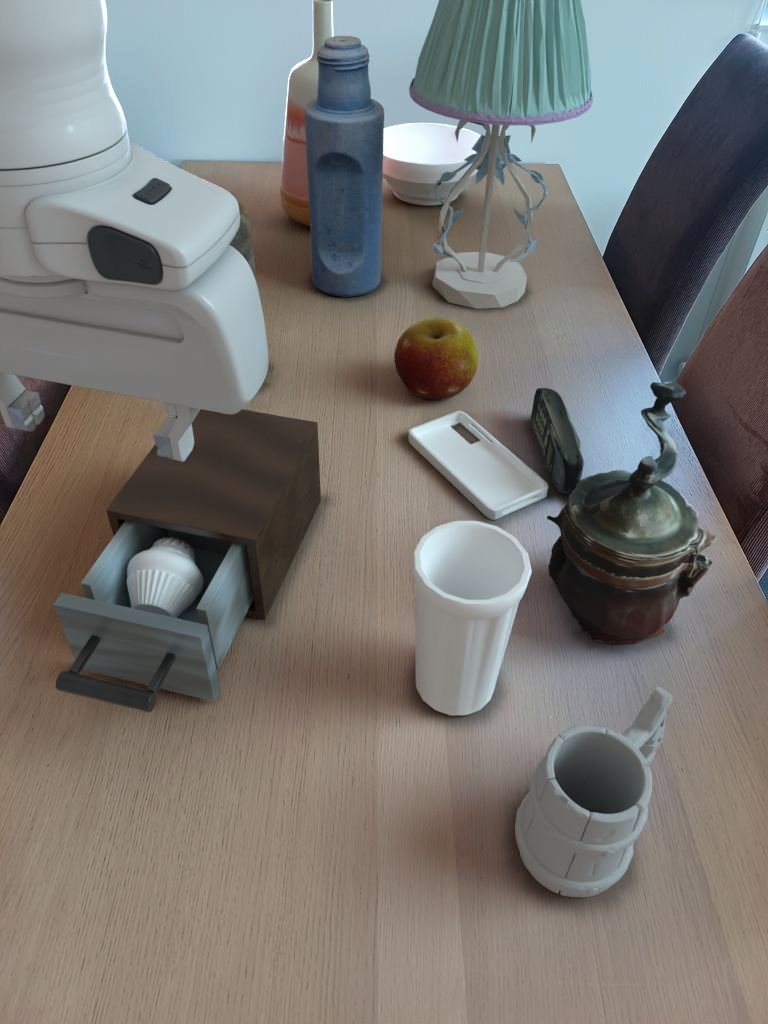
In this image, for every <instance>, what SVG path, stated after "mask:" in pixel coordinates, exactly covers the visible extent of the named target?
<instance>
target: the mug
mask: <svg viewBox="0 0 768 1024" xmlns="http://www.w3.org/2000/svg"><path fill="white" fill-rule="evenodd" d="M672 702H673V695H672V694H671V693H669V692H668V691H666V690H665V689H663V688H662V687H661V686H656V687H654V689H653V691H652V693H651V694H650V697H649V699H648V700H647V701H646V703H644V705H642V707H641V708H640V710H639V712H638V713H637V716H636V718H635V719H634V721H633V722H632V724H631V726H629V727H628V728H627V729H626V730H625V731H624V732H622V733H619V732H617V731H615V730H613V729H609V728H606V727H604V726H599V725H576V726H573V727H569V728H566V729H565V730H562V732H560V733H559V734H558V735H556V737H554V739H553V740H552V742H550V745H549V746H548V748H547V751H546V753H545V755H544V756H543V757H542V758H541V759H540V761H539V762H538V764H537V765H536V767H535V768H534V771H533V772H532V773H531V775H530V777H529V780H528V781H529V784H528V785H529V791H528V792H527V794H526V795H525V796H524V798H523V799H522V801H521V803H520V805H519V807H518V808H517V809H516V813H515V817H516V818H515V823H514V824H515V825H514V831H515V832H514V833H515V839H516V844H517V849H518V850H519V855H520V858H521V861H522V863H523V865H524V867H525V868H526V869H527V871H528V872H529V873H530V874H531V876H532V877H533V878H534V879H535V881H537V882H538V883H539V884H540V885H542V886H543V887H544V888H546V889H547V890H549V891H551V892H552V893H555V894H557V895H558V894H559V895H560V896H563V897H571V898H589V897H593V896H597V895H599V894H601V893H602V892H604V891H607V890H609V888H610V887H612V886H613V885H615V884H616V883H618V881H619V880H621V878H622V877H623V876H624V875H625V873H626V872H627V870H628V868H629V865H630V863H631V860H632V859H633V857H634V852H635V851H634V843H635V841H636V840H637V839H638V838H639V836H640V834H641V833H642V831H643V829H644V827H645V825H646V823H647V821H648V818H649V807H648V804H649V803H650V800H651V796H652V792H653V774H652V770H651V768H650V765H651V763H652V762H653V760H654V758H655V755H656V751H657V750H658V749H659V748H660V746H661V744H662V742H663V740H664V732H665V730H666V721H667V711H668V709H669V707H670V705H671V703H672Z"/></svg>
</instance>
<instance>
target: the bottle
mask: <svg viewBox="0 0 768 1024" xmlns="http://www.w3.org/2000/svg"><path fill="white" fill-rule="evenodd" d="M370 55H371V54H370V53H369V48H368V47H366V46H365V45H364V44H362V41H361V39H360V38H359V37H358V36H357V37H356V36H352V35H333V37H330V38H328V39H325V41H324V45H322V46H321V47H319V48H318V52H317V61H318V89H317V99H314V100H312V101H310V102H309V103H308V104H307V105H306V107H305V128H306V152H307V170H308V189H309V211H310V226H309V231H310V232H309V233H310V254H311V255H310V256H311V277H312V278H311V280H312V283H313V286H315V287H316V289H317V290H318V291H321V292H322V293H325V294H327V295H331V296H335V297H340V298H350V297H351V298H352V297H359V296H363V295H366V294H369V293H371V292H373V291H374V290H376V289H377V288H378V287H379V285H380V283H381V280H382V275H381V274H382V273H381V271H382V270H381V269H382V268H381V267H382V265H381V262H382V261H381V259H382V254H381V253H382V220H383V219H382V217H383V183H384V181H383V180H384V178H383V157H384V155H383V141H384V135H383V134H384V128H385V109H384V107H383V104H381V103H380V102H379V101H377V100H376V99H373V98H372V92H371V90H372V89H371V83H370V78H369V77H370V76H369V64H370Z"/></svg>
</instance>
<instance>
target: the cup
mask: <svg viewBox="0 0 768 1024" xmlns="http://www.w3.org/2000/svg"><path fill="white" fill-rule="evenodd" d="M411 558H412V561H411V562H412V573H413V574H412V575H413V581H414V585H415V688H416V690H417V692H418V694H419V696H420V698H421V700H422V701H423V702H424V703H426V704H427V705H428V706H429V707H431V708H432V709H433V710H434V711H437V712H439V713H442V714H446V715H448V716H467V715H471V714H474V713H476V712H479V711H481V710H482V709H483V708H484V707H485V706H486V705H487V704H488V703H489V702H490V701H491V700H492V697H493V695H494V691H495V688H496V685H497V681H498V679H499V675H500V671H501V668H502V664H503V660H504V657H505V654H506V650H507V646H508V643H509V640H510V636H511V633H512V629H513V626H514V622H515V618H516V616H517V615H516V614H517V612H518V607H519V604H520V601H521V600H522V599H523V596H524V594H525V592H526V589H527V587H528V584H529V582H530V579H531V575H532V573H533V571H532V566H531V561H530V555H529V553H528V552H527V550H526V549H525V547H524V546H523V545H522V544H521V542H520V541H519V540H518V539H517V538H516V536H514V535H512V534H511V533H509V532H508V531H506V530H504V529H503V528H501V527H500V526H497V525H493V524H490V523H486V522H482V521H479V520H454V521H450V522H447V523H444V524H441V525H437V526H435V527H434V528H433V529H431V530H429V531H428V532H427V533H425V534H424V535H423V536H422V537H420V539H419V540H418V542H417V544H416V546H415V548H414V550H413V552H412V554H411Z"/></svg>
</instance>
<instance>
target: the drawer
mask: <svg viewBox="0 0 768 1024" xmlns="http://www.w3.org/2000/svg"><path fill="white" fill-rule="evenodd" d="M165 537H168V538H170V537H173V538H175V539H177V538H178V539H180V540H181V541H185V543H187V544H189V545H190V547H191V548H192V549H193V551H194V556H195V559H194V560H195V564H196V566H197V567H198V569H199V570H200V572H201V574H202V576H203V580H204V583H203V588H202V590H201V592H200V593H199V595H198V596H197V597H195V600H194V601H193V603H192V604H191V605H190V606H188V607H187V608H186V609H185V610H184V611H183V612H182V613H181V614H180V615H179V616H178V617H177V618H173V617H169V616H164V615H160V614H155V613H151V612H146V611H142V610H137V609H133V608H132V607H131V602H130V597H129V592H128V587H127V578H128V577H127V567H128V564H129V562H130V560H131V559H132V558H133V557H134V556H135V555H136V554H138V553H140V552H142V551H145V550H148V549H150V548H151V547H152V546H153V544H154V543H155V542H156V541H157V540H159V539H162V538H165ZM80 586H81V590H82V591H83V594H84V597H83V596H78V595H74V594H70V593H65V592H60V594H59V596H58V597H57V598H56V600H55V601H54V603H52V605H53V608H54V611H55V614H56V615H57V618H58V621H59V623H60V625H61V628H62V631H63V633H64V636H65V637H66V641H67V643H68V645H69V649H70V651H71V653H72V656H73V658H74V661H73V662H72V664H71V666H70V667H69V668H68V670H62V671H60V672H59V674H58V675H57V677H56V679H55V685H54V686H55V689H56V690H57V691H59V692H63V693H67V694H70V695H71V694H72V695H76V696H80V697H84V698H88V699H92V700H95V701H99V702H104V703H107V704H112V705H116V706H121V707H124V708H128V709H133V710H137V711H140V712H145V713H148V714H149V713H152V712H153V711H154V710H155V708H156V705H157V702H158V692H159V689H160V690H164V691H169V692H172V693H176V694H181V695H186V696H190V697H193V698H194V697H195V698H198V699H202V700H206V701H211V702H215V701H216V699H217V697H218V695H219V693H220V691H221V686H220V681H219V675H218V671H219V670H220V668H221V666H222V665H223V662H224V661H225V658H226V656H227V654H228V652H229V650H230V648H231V645H232V643H233V642H234V639H235V638H236V635H237V633H238V632H239V629H240V627H241V625H242V624H243V621H244V619H245V618H246V613H247V611H248V609H249V607H250V605H251V603H252V601H253V599H254V595H253V587H252V580H251V573H250V565H249V558H248V551H247V545H244V544H239V543H234V542H229V541H224V540H219V539H214V538H209V537H204V536H199V535H195V534H190V533H185V532H180V531H175V530H170V529H165V528H160V527H155V526H150V525H145V524H140V523H136V522H131V521H126V520H125V522H124V523H123V524H122V526H121V527H120V529H119V530H118V531H117V533H116V534H115V536H112V538H111V540H109V543H108V544H107V546H106V547H105V548H104V549H103V551H102V552H101V554H100V555H99V557H98V558H97V559H96V561H95V562H94V563H93V565H92V566H91V568H90V569H89V570H88V571H87V573H86V575H85V576H84V578H83V579H82V580H81V582H80ZM82 671H85V672H90V673H93V674H98V675H102V676H107V677H110V678H115V679H118V680H123V681H127V682H131V683H136V684H140V685H144V686H147V687H146V689H143V688H139V687H135V686H131V685H127V684H123V683H118V682H115V681H110V680H107V679H102V678H98V677H93V676H89V675H85V674H81V672H82Z"/></svg>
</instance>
